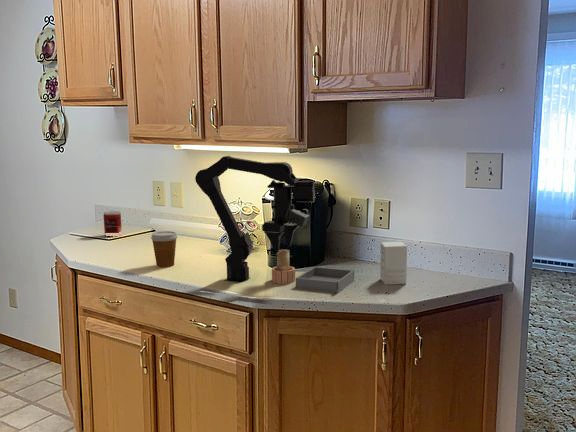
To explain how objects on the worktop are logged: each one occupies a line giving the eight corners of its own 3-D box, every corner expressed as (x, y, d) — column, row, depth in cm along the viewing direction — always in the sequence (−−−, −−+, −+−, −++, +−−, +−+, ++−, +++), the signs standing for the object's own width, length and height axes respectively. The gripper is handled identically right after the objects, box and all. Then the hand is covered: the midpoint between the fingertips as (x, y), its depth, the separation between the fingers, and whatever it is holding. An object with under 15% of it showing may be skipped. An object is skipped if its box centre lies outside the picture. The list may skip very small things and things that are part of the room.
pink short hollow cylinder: (267, 283, 201) (267, 270, 201) (277, 278, 208) (277, 265, 208) (289, 286, 198) (289, 272, 197) (299, 280, 205) (299, 267, 205)
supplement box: (401, 278, 206) (402, 241, 204) (406, 284, 199) (407, 245, 197) (379, 278, 206) (380, 241, 204) (383, 284, 199) (384, 246, 197)
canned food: (117, 233, 292) (116, 210, 291) (124, 235, 286) (123, 212, 285) (101, 235, 287) (100, 212, 286) (109, 238, 281) (107, 214, 280)
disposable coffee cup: (147, 265, 228) (145, 233, 226) (168, 261, 235) (167, 230, 233) (161, 269, 221) (160, 236, 219) (183, 265, 228) (182, 233, 226)
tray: (295, 288, 195) (295, 278, 195) (314, 276, 209) (314, 266, 209) (337, 293, 189) (338, 282, 189) (354, 280, 204) (354, 270, 203)
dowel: (275, 281, 202) (275, 251, 201) (280, 278, 206) (280, 249, 204) (286, 282, 201) (286, 252, 199) (291, 279, 204) (291, 250, 203)
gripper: (294, 207, 187) (294, 257, 190) (316, 199, 204) (316, 245, 207) (261, 205, 192) (261, 254, 194) (285, 197, 209) (285, 243, 211)
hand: (282, 249), depth 202 cm, fingers open, 9 cm apart
